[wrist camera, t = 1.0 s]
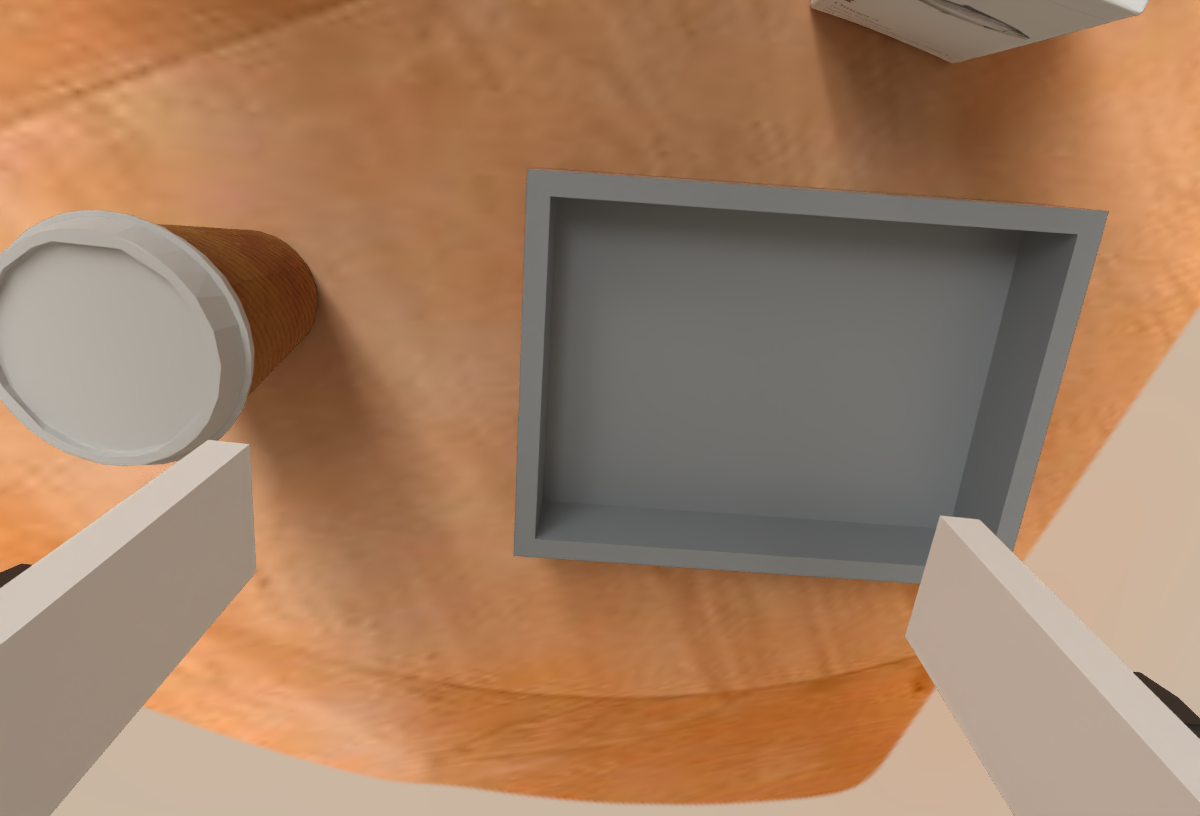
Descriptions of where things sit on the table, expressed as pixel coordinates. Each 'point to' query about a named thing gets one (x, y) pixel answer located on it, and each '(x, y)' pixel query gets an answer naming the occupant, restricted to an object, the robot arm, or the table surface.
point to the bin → (784, 370)
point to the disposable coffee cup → (143, 331)
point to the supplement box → (977, 21)
